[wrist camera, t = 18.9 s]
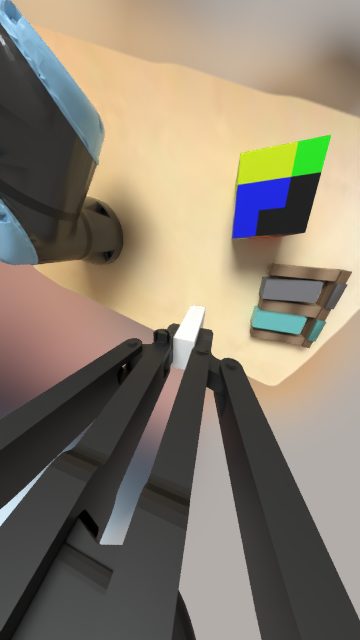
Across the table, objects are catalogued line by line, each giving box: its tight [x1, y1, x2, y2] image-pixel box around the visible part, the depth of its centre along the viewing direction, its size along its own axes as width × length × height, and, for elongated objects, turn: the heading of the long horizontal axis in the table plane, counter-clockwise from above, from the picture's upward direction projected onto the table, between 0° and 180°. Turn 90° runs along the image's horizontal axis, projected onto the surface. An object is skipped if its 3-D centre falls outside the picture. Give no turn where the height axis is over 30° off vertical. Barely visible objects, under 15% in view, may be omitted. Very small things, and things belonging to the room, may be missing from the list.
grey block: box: [259, 277, 323, 303], centre depth 33 cm, size 10×4×4 cm, turn 90°
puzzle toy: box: [231, 135, 331, 240], centre depth 25 cm, size 10×10×10 cm
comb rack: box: [250, 264, 352, 348], centre depth 34 cm, size 13×18×4 cm
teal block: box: [251, 306, 307, 334], centre depth 36 cm, size 10×4×4 cm, turn 87°
